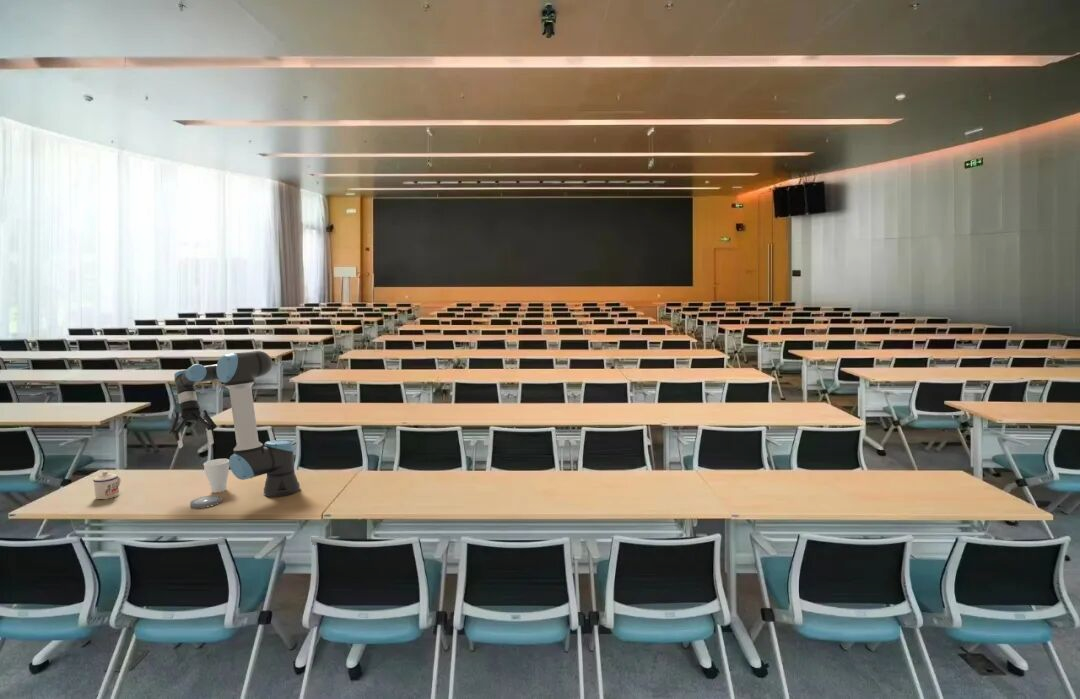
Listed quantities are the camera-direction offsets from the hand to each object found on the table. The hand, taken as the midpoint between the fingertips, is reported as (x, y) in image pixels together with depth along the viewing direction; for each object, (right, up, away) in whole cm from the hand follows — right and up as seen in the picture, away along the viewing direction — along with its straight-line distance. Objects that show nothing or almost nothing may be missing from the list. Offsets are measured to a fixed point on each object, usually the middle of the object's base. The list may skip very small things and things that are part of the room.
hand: (196, 445), depth 287 cm
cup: (+12, -20, -3) cm, 24 cm away
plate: (+14, -22, -18) cm, 32 cm away
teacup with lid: (-36, -22, -6) cm, 42 cm away
